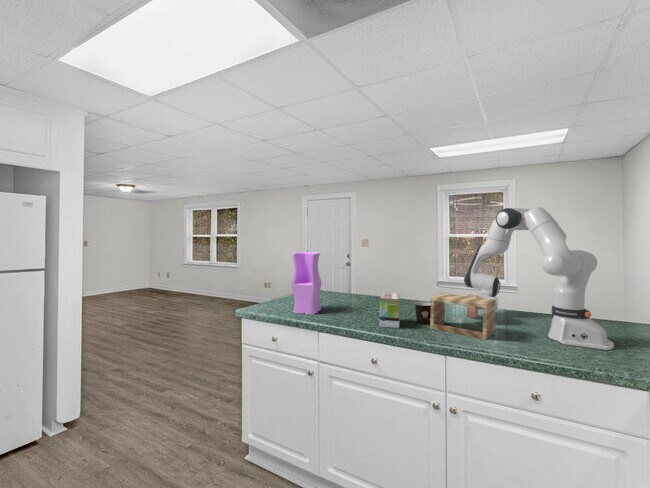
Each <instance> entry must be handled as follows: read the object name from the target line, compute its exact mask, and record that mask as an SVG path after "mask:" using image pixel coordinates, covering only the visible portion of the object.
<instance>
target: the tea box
mask: <svg viewBox="0 0 650 488" xmlns="http://www.w3.org/2000/svg"><path fill="white" fill-rule="evenodd" d="M379 298H380V299H379V327H380V328H393V329H399V328H400V313H401V308H400V307H401V305H400V304H401V299H400V293H390V292H389V293H388V292H381V293H380V297H379Z"/></svg>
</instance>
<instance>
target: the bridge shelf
mask: <svg viewBox="0 0 650 488" xmlns="http://www.w3.org/2000/svg"><path fill="white" fill-rule="evenodd" d="M430 303H431V318H430V329H431V330H435V331H440V332H445V333H450V334H454V335H455V334H456V335H461V336H465V337H470V338H476V339H481V340H488V339H489V338H491V336H492V334H493V333H494V334H495V333H496V310H495V304H496V300H494V299H486V298H478V297H470V296H467V295H461V294H460V295H459V294H453V293H451V294H450V293H445V292H444V293H443V292H441V293H438V294H436V295H433V296H430ZM446 303H448V304H454V305H460V304H461V306H465V305H468V306H475V307H482V308H483V309H482V332H481V331H477V330H471V329H467V328H460V327H456V326H450V325H444V324H445V321H446V320H445V317H446V316H445V315H446V314H445V312H446V305H445V304H446ZM494 334H493V335H494Z"/></svg>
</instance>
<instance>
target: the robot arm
mask: <svg viewBox="0 0 650 488" xmlns="http://www.w3.org/2000/svg"><path fill="white" fill-rule="evenodd" d="M528 230H529V232H530V233H531V234H532V235H531V236H533V238H534V239H535V241H536V242H537V244H538V245H539V247H540V249H541V252H542V256H543V257H542V259H541V268H542V270H543V271H544V272H545V273H546V274H547V275H551V276H555V277H560V279H559V280H558V282H557V284H556V285H555V286H554V288H553V291H552V292H553V294H552V295H553V298H552V306H551V313H550V315H551V318H552V319H551V322H550V323H551V325H550V329H549V331H548V335H547V337H548V338H549V339H552V340H554V341H556V342H559V343H561V344H562V345H568V346H575V347H583V348H590V349H597V350H605V351H610V350H613V349H615V344H614V342H613V341H611V340H610V339H608V334H607V333H606V330H605V329H604V327H602V326H601V325H600V324H598V323H597V322H595V321H594V320H593V319H591V316H592V312H591V311H590V310H588V309H586V308H585V299H586V298H585V296H586V290H587V286H588V283H589V280H590V277H591V275H592V273H593V272H594V271H595V270H596V269H597V267H598V260H597V258H596V256H595V255H594V254H593V253H591V252H588V251H584V250H580V249H578V250H576V249H575V250H571V249H570V248H569V247H568V246H567V243H566V240H567V234H566V232H565V231H564V229H562V227H561V226H560V224H559V222H557V221H556V219H555V218H554V217H553V216H552V215H551V214H550V213H549V212H548V211H547V210H546V209H545V208H543V207H540V206H534V207H531V208H521V207H512V208H511V207H506V208H502V209H500V210H499V211H498V212H497V213H496V216H495V219H494V220H493V221H492V222H491V225H490V228H489V231H488V235H487V238H486V240H485V242H484V243H482V244H479V246H478V248H477V249H476V251H475V253H474V256H473V258H472V259H471V262H470V265H469V267H468V270H467V271H466V273H465V275H464V279H463V282H464V285H465V286H466V287H467V288H471V289H476V290H479V291H478V292H476V293H474V294H473V295H478V298H486V299H494V300H496V304H495V311H497V309H498V308H499V307H498V306H499V300H498V297H497V295H499V293H500V290H501V281H500V279H499V278H498V277H497V276H494V275H493V274H492V275H490V274H487V273H484V272H480V271H478V269H479V267H480V265H481V262H482V260H483V258H485V257H488V256H490V257H491V256H496V255H502V254H503V253H506V252H507V251H508V249H509V246H510V243H511V241H512V240H511V239H512V236H513V232H514V231H528ZM459 305H461V304H459ZM461 306H462V305H461ZM464 307H467V305H464ZM477 308H478V310H483V308H482V307H477Z"/></svg>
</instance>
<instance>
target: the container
mask: <svg viewBox="0 0 650 488" xmlns="http://www.w3.org/2000/svg"><path fill="white" fill-rule="evenodd" d="M320 255H321V252H318V251H316V252H315V251H313V252H312V251H311V252H310V251H309V252H307V251H304V252H303V251H302V252H301V251H299V252H298V251H297V252H294V253H291V257H292V260H293V264H294V274H293V279H292V282H291V290H292V293H293V298H294V307H293V312H295V313H305V314H304V315H308V314H314V315H316V314H317V313H319V312H320V311H321V310H322V306H321V301H320V296H321V295H320V294H321V287H322V280H321V277H320V273H319V260H320V259H319V258H320ZM318 311H319V312H318ZM295 313H294V314H295ZM315 313H316V314H315Z"/></svg>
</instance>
